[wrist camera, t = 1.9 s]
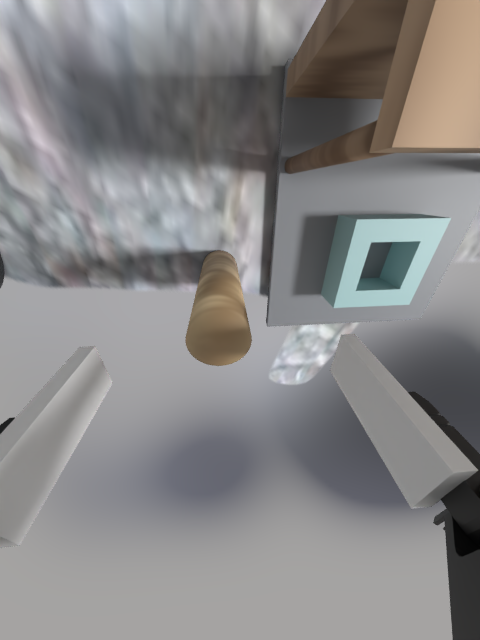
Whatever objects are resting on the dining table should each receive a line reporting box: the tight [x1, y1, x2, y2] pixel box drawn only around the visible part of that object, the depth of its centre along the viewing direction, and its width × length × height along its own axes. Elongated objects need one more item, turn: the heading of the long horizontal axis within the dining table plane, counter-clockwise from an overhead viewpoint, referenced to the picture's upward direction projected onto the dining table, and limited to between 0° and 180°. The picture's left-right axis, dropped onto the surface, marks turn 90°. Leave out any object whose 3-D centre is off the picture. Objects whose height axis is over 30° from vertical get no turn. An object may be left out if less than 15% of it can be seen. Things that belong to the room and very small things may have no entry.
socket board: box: [266, 59, 480, 326], centre depth 22 cm, size 22×24×4 cm
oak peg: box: [186, 250, 252, 366], centre depth 19 cm, size 4×4×14 cm
